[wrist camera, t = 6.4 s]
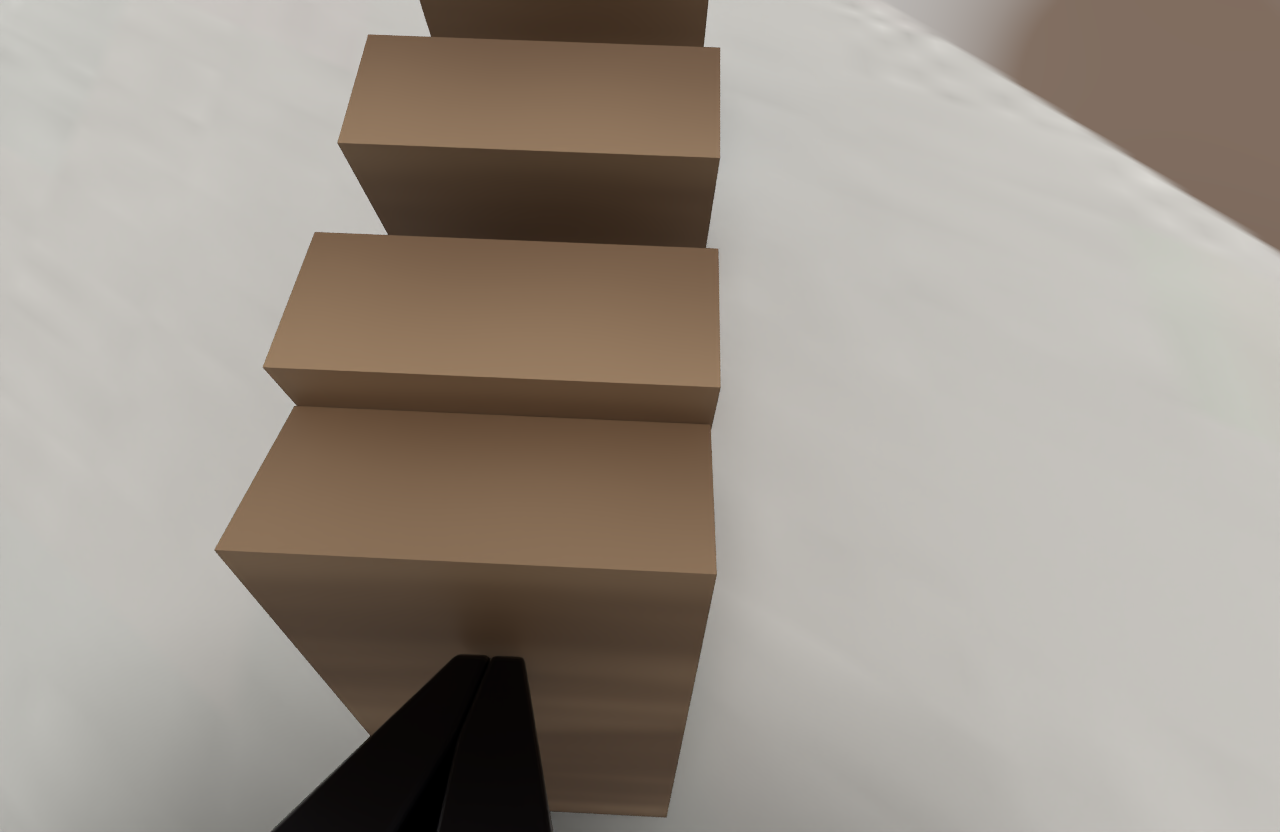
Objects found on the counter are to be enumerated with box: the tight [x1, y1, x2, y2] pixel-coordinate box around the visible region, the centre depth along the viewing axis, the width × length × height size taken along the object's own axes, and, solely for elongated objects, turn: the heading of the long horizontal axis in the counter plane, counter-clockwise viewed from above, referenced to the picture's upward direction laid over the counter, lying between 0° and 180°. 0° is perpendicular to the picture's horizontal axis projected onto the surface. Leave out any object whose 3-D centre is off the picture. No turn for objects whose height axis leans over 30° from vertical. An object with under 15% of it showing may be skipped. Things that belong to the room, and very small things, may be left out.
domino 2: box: [338, 35, 720, 248], centre depth 14 cm, size 2×5×10 cm, turn 87°
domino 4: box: [215, 406, 717, 817], centre depth 11 cm, size 2×5×10 cm, turn 87°
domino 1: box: [420, 0, 708, 47], centre depth 15 cm, size 2×5×10 cm, turn 87°
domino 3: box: [263, 232, 720, 428], centre depth 12 cm, size 2×5×10 cm, turn 87°
